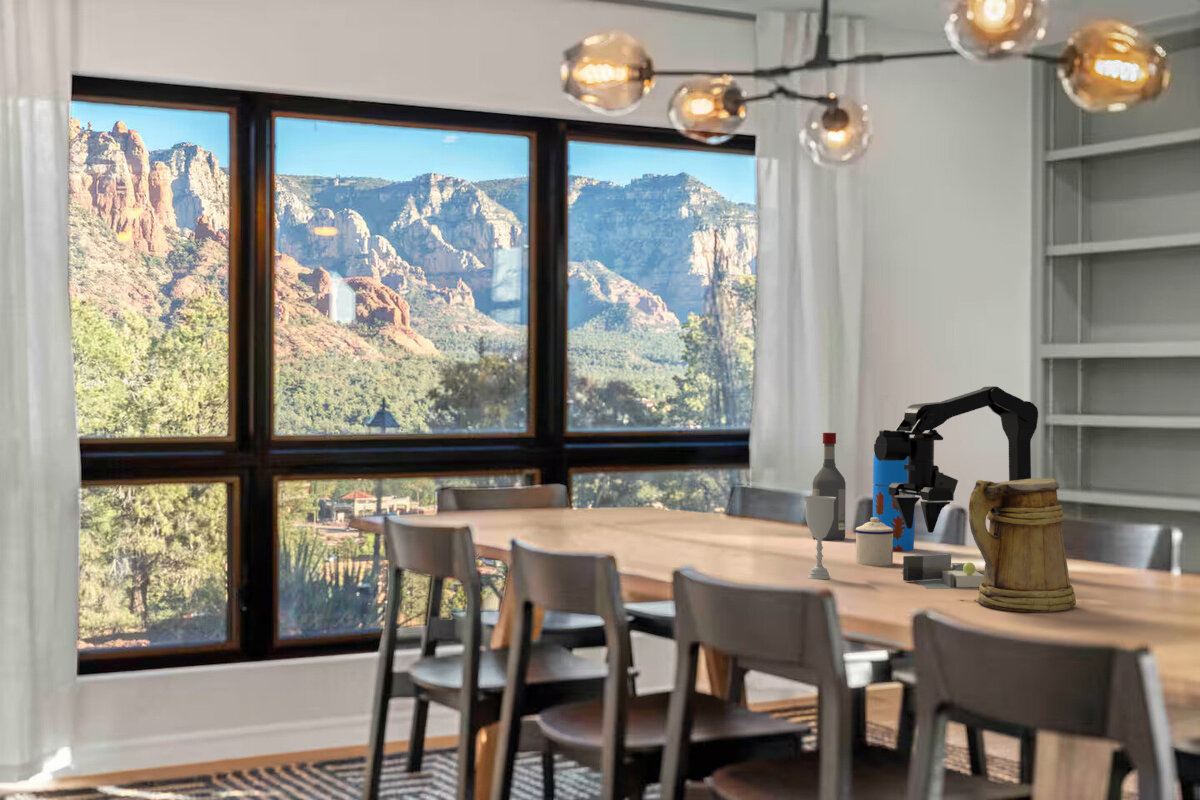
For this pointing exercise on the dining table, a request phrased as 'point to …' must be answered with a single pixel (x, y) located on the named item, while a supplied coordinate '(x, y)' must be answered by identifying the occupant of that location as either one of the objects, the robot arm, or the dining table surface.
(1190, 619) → the dining table surface
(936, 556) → the cam capstan
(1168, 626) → the dining table surface
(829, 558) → the dining table surface
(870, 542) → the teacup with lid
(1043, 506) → the tankard
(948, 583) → the level stand
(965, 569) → the cam foot
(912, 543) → the thermos
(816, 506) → the chalice
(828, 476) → the liquor
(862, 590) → the dining table surface
